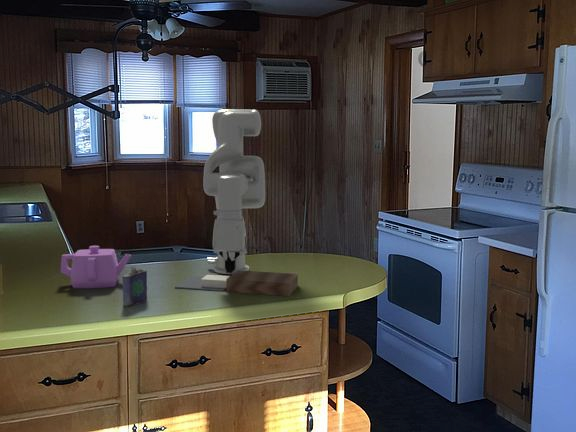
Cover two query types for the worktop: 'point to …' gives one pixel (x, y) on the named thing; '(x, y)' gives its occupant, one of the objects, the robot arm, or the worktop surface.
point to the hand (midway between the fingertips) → (230, 271)
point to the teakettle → (93, 267)
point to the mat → (196, 285)
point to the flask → (134, 287)
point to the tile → (214, 281)
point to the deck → (262, 283)
